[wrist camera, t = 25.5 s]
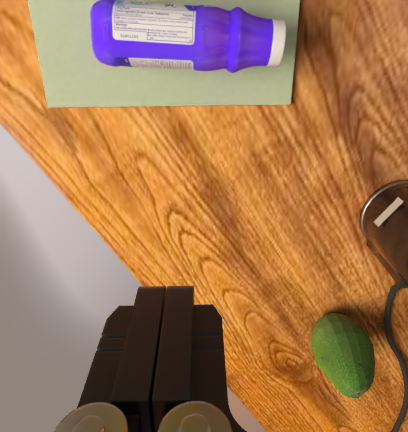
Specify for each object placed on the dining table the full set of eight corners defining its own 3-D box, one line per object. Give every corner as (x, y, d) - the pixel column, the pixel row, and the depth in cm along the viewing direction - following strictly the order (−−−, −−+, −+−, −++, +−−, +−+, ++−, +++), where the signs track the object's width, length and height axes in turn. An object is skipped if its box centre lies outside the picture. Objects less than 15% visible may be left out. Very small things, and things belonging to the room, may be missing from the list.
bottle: (105, 2, 37) (278, 13, 37) (108, 64, 39) (271, 73, 40) (83, -8, 30) (294, 4, 31) (88, 67, 33) (285, 77, 33)
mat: (289, 103, 42) (290, 104, 41) (49, 106, 42) (47, 107, 41) (302, -47, 36) (304, -48, 35) (21, -44, 36) (18, -45, 35)
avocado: (304, 344, 58) (328, 415, 47) (303, 304, 54) (328, 371, 44) (355, 339, 57) (392, 409, 47) (358, 298, 54) (398, 364, 43)
